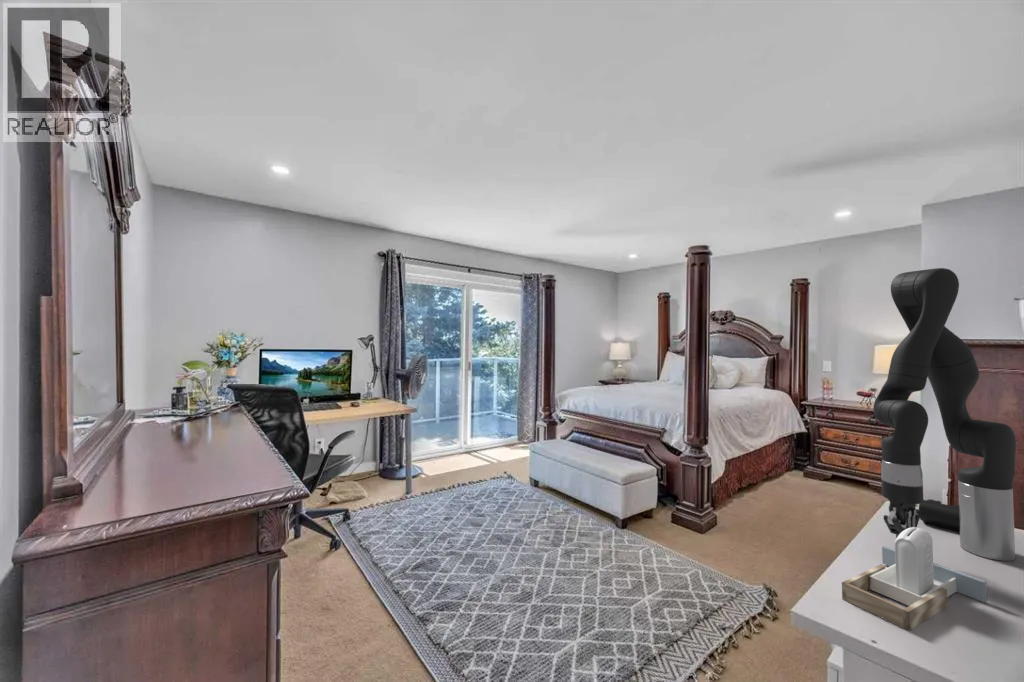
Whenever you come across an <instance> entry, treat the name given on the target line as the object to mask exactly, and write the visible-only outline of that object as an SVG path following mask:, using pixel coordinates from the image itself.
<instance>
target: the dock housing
mask: <svg viewBox="0 0 1024 682" xmlns="http://www.w3.org/2000/svg"><path fill="white" fill-rule="evenodd" d="M885 568H886V566H885V564H883V563H882V564H879V565H877V566H874V567H872V568H869V569H868V570H865V571H863V572H861V573H859V574H857V575H854V576H853V577H850V578H849V579H846V580H844V581H841V595H842V596H841V597H842V598H841V599H842V600H843V601H846V602H848V603H850V604H852V605H854V606H856V607H858V608H860V609H863V611H867V612H868V613H871V614H873V615H875V616H877V617H879V616H880V617H879V618H881V617H883V618H884V620H885V619H886V620H885V621H888V622H890V623H892V622H893V624H894V623H895V624H894V625H896V626H898V625H899V626H898V627H901V628H902V629H904V630H907V631H911V630H912V629H915V628H916V627H917V626H918V625H921V624H923V622H925V621H926V620H928V619H930V618H932V617H933V616H935V615H936V614H938V613H939V612H941V611H943V610H944V609H946V608H947V607H948V597H947V589H945V588H942V587H941V588H939V589H938V590H936V591H934V592H932V593H931V594H929V595H927V596H926V597H924V598H922V599H920V600H919V601H917V602H915V603H913V604H912V605H910V606H908V605H907V606H906V607H903V606H901V605H898V604H895V603H894V602H893V601H892V602H891V601H889V600H887V599H885V598H882V597H880V596H877V595H875V594H873V593H871V592H869V590H871V589H870V576H871V575H873V574H875V573H877V572H879V571H881V570H883V569H885ZM883 618H882V619H883Z"/></svg>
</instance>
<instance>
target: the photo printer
mask: <svg viewBox="0 0 1024 682" xmlns="http://www.w3.org/2000/svg"><path fill="white" fill-rule="evenodd" d="M895 538H896V537H895ZM933 548H934V546H933V537H932V536H931V533H930V532H929V531H927V530H926V529H924V528H919V527H918V526H917V527H911V528H908V529H905V530H904V531H902V532H901V533H900V534H899V535H898V537H897V538H896V539H895V541H894V549H895V564H896V586H897V587H900V588H902V589H904V590H907V591H909V592H912V593H914V594H917V595H919V596H920V595H922V594H923V593H925V592H926V591H927V590H928V589H929V588H930V587H932V585H933V583H934V571H933V563H934V549H933Z"/></svg>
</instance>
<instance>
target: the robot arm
mask: <svg viewBox="0 0 1024 682" xmlns="http://www.w3.org/2000/svg"><path fill="white" fill-rule="evenodd" d="M959 289H960V282H959V278H958V276H957V274H956V273H955V272H954V271H952V269H949V268H944V267H942V268H941V267H940V268H930V269H929V268H928V269H922V270H921V269H920V270H912V271H907V272H902V273H899V274H897V275H896V276H895V277H894V278H893V279H892V281H891V284H890V293H891V295H890V296H891V298H892V300H893V302H894V304H895V306H896V309H897V310H898V313H899V314H900V316H901V318H902V319H903V321H904V323H905V325H906V327H907V329H908V331H909V333H908V334H907V335H906V336H905V337H904V339H902V341H900V343H899V344H898V345H897V346H896V348H895V349H894V351H893V353H892V356H891V358H890V359H891V360H890V364H889V369H888V374H887V379H886V381H885V383H884V384H883V385H882V387H881V389H880V391H879V392H878V394H877V396H876V399H874V400H875V401H874V404H873V413H874V414H873V415H874V417H875V419H876V420H877V421H878V422H879V423H881V424H883V425H885V426H889V427H894V431H893V434H892V435H889V436H885V437H884V438H882V440H881V466H880V479H881V481H880V483H881V495H882V497H883V498H885V499H887V500H888V501H889V506H888V512H889V515H887V514H884V515H883V521H884V523H885V524H886V526H887V528H888V531H889V532H890V533H891V534H894V535H895V538H897V537H898V535H899V534H900V533H901V532H902V531H904V530H905V529H908V528H911V527H917V528H918V525H919V521H920V515H921V510H919V508H916V505H919V504H921V503H923V500H924V480H923V479H924V477H923V476H924V475H923V474H924V473H923V470H922V460H921V458H922V457H921V456H922V455H921V446H922V444H923V441H924V439H925V435H926V431H927V428H928V425H929V415H928V413H927V410H926V408H925V407H924V406H923V405H922V404H920V403H919V402H917V401H914V400H909V398H910V396H911V394H913V393H915V392H921V391H922V390H924V389H925V387H926V385H927V380H928V381H929V384H930V385H931V388H932V390H933V393H934V395H935V399H936V402H937V405H938V408H939V411H940V417H941V420H942V425H943V429H944V433H945V436H946V439H947V441H948V443H949V445H950V447H951V449H953V450H954V451H956V452H957V453H960V454H964V455H969V456H974V457H979V458H983V462H982V465H981V466H975V467H974V466H973V467H972V466H971V467H963V468H960V469H959V470H958V471H957V484H958V486H957V487H958V489H957V490H958V505H959V519H960V531H959V543H960V547H961V548H962V549H963V550H965V551H967V552H968V553H970V554H974V555H976V556H980V557H981V558H986V559H991V560H996V561H1005V562H1006V561H1009V562H1010V561H1014V560H1016V544H1015V543H1016V541H1015V540H1016V537H1015V535H1016V534H1015V512H1014V509H1015V507H1014V489H1013V488H1014V487H1013V486H1014V485H1013V482H1014V479H1015V475H1016V454H1017V451H1016V450H1017V439H1016V434H1015V432H1014V431H1013V429H1012V428H1011V426H1009V425H1007V424H1006V423H1002V422H1001V423H1000V422H996V421H987V420H980V419H973V418H972V417H971V416H970V413H969V412H968V408H967V400H968V398H969V396H970V394H971V393H972V391H973V389H974V388H975V386H976V384H977V382H978V380H979V377H980V371H979V367H978V365H977V362H976V359H975V356H974V354H973V352H972V350H971V348H970V347H969V345H968V344H967V343H966V342H965V341H963V339H961V338H960V337H959V336H958V335H956V334H955V333H954V332H952V331H951V329H949V328H947V327H946V326H945V325H946V323H947V321H948V318H949V316H950V314H951V312H952V309H953V307H954V305H955V302H956V299H957V297H958V293H959Z"/></svg>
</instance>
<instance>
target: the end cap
mask: <svg viewBox="0 0 1024 682" xmlns="http://www.w3.org/2000/svg"><path fill="white" fill-rule="evenodd" d="M918 509H919V510H921V515H920V518H919V520H921V521H922V522H923V523H924V524H929V525H932V526H936V527H940V528H945V529H949V530H953V531H957V532H960V519H959V504H955V505H954V506H953V505H950V504H944V503H942V501H939V500H934V499H930V498H929V499H923V503H921V504H918Z"/></svg>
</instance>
